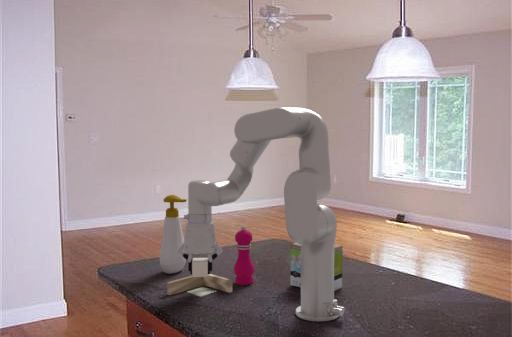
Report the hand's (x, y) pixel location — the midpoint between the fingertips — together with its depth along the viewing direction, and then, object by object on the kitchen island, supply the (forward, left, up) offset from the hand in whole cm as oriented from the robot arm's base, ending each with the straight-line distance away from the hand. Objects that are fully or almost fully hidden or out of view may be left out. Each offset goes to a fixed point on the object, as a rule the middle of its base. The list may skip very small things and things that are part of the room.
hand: (200, 272), depth 177 cm
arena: (-1, +1, -7) cm, 7 cm away
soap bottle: (+26, -10, -7) cm, 28 cm away
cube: (0, 0, -1) cm, 1 cm away
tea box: (-25, -29, -7) cm, 39 cm away
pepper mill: (-3, -17, -7) cm, 19 cm away
